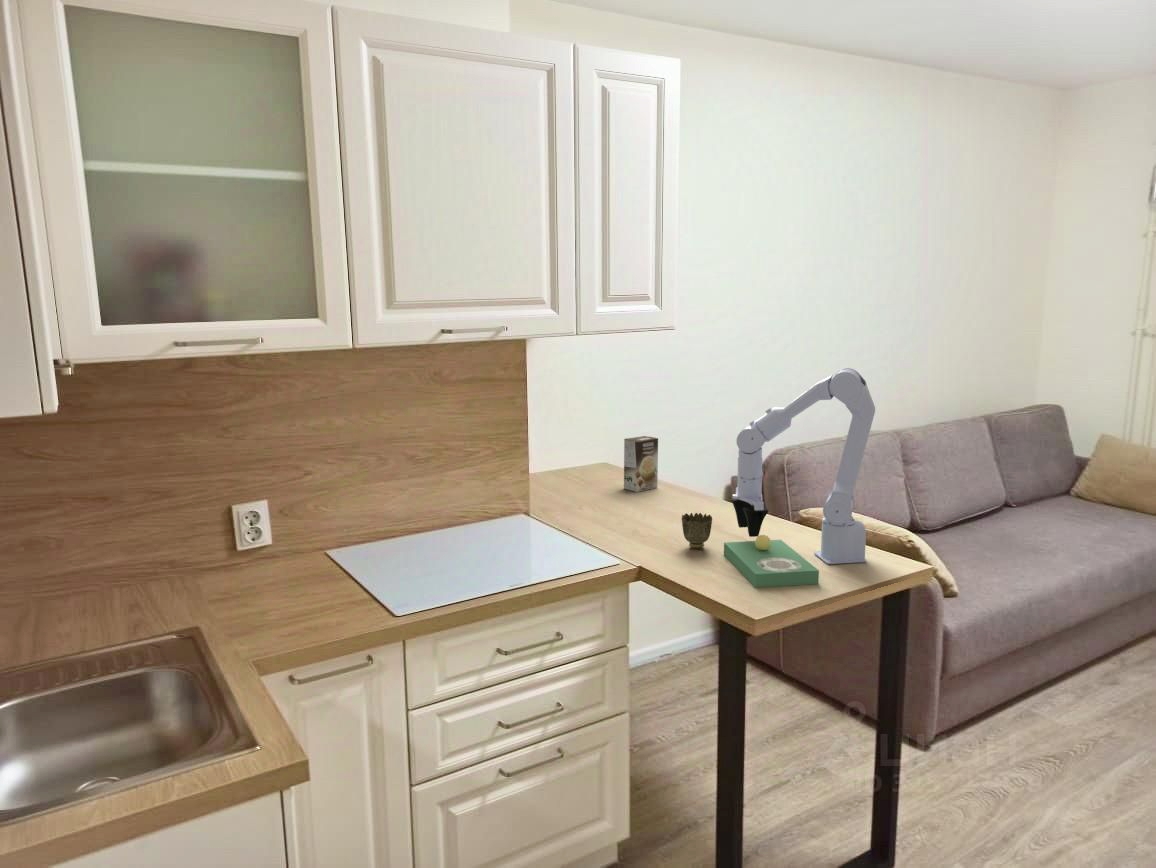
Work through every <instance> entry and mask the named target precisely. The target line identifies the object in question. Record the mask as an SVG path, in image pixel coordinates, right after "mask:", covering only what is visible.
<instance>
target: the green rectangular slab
mask: <svg viewBox="0 0 1156 868" xmlns="http://www.w3.org/2000/svg"><path fill="white" fill-rule="evenodd" d="M770 540H771V546H770V548H769V549H767V550H765V551H762V550H759V549H758V548H757V547H756V545H755V540H750V541H748V540H747V541H728V542H723V555H724V557H725V558H727V559H728V561H730V563H731V564H732V565H733V566H734V567H735V568H736V569H737V570H738V571H739V572H740V574H741V575H743V576H744V577H745V578H746V580H747V581H749V583H750V584H751V585H752V586H753V587H754V589H755V588H756V589H757V588H758V589H759V588H771V587H772V588H773V587H774V588H775V587H788V586H803V585H804V586H805V585H819V582H820V581H819V579H820V577H819V576H820V570H819V569H818V568H817V567H815V566H814V565H813V564H812V563H810V562H809V561H808V560H807V559H806V558H804V557H803V556H801V554H800V553H798V552H797V551H795V550H794V549H793V548H792V547H791V546H790V545H788V544H787V543H786V542H784V541H783V539H770Z"/></svg>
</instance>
